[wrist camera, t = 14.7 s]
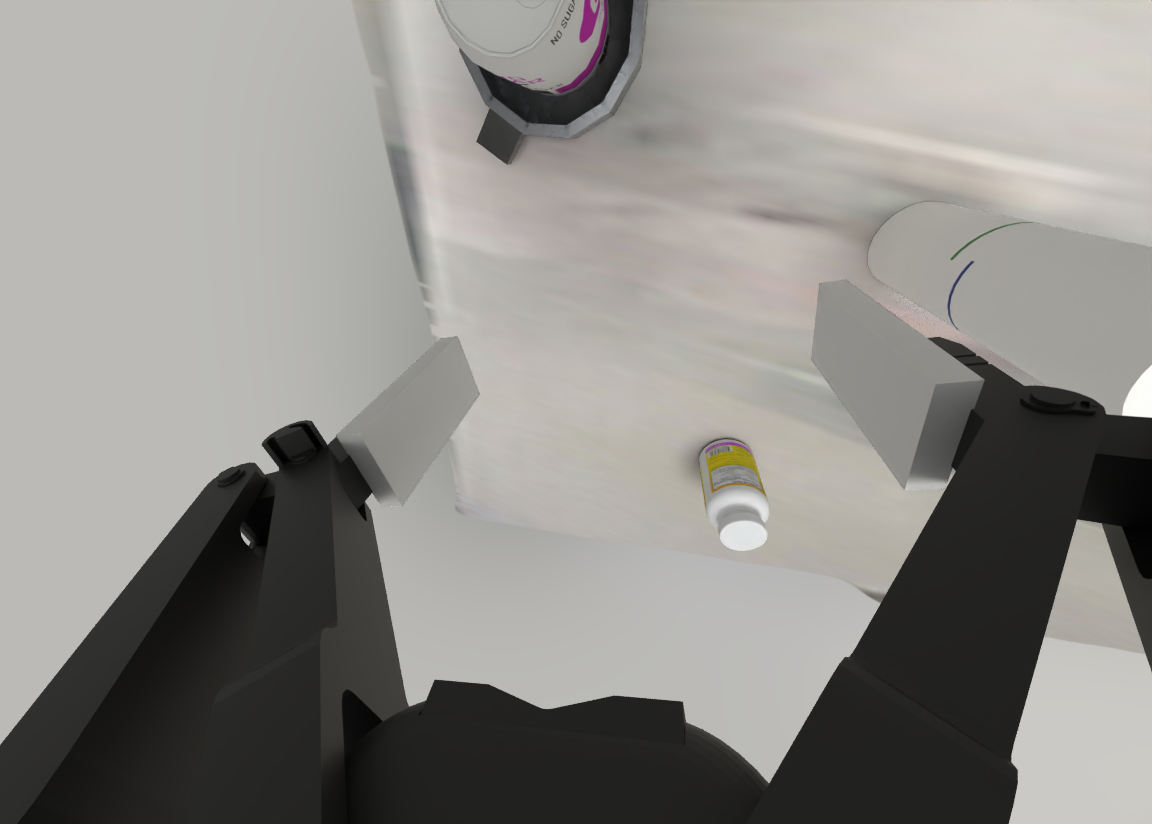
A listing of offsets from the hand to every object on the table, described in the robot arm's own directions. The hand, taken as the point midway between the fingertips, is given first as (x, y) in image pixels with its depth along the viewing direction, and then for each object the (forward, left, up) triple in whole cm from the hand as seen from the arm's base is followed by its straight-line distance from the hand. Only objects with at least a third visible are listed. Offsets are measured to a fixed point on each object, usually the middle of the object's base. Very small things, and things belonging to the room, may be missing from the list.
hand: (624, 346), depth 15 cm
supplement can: (-7, -14, -28) cm, 32 cm away
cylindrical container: (-12, +21, -29) cm, 38 cm away
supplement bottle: (+16, +26, -29) cm, 42 cm away
